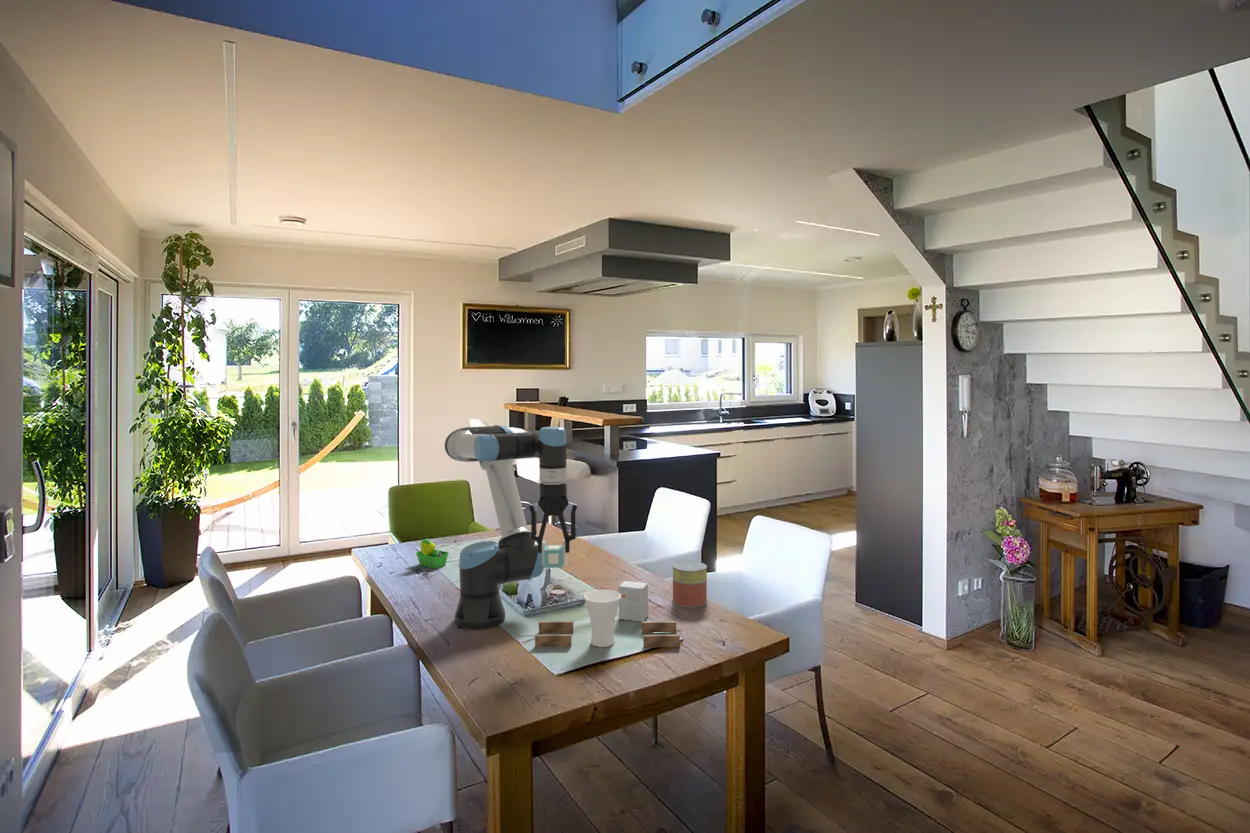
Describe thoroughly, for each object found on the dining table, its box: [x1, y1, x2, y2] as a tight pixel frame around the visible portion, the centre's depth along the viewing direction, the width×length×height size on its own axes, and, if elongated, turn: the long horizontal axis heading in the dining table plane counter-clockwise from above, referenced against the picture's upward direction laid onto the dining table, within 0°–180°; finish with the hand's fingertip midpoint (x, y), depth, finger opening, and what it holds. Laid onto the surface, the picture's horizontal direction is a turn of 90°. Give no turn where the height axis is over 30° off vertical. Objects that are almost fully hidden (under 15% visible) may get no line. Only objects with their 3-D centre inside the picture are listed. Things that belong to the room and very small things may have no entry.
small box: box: [617, 580, 649, 623], centre depth 209 cm, size 8×6×10 cm
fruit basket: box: [415, 538, 450, 570], centre depth 264 cm, size 11×9×11 cm
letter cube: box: [544, 544, 564, 569], centre depth 191 cm, size 5×5×5 cm
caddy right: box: [641, 620, 681, 648], centre depth 192 cm, size 10×11×3 cm
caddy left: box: [534, 620, 574, 648], centre depth 193 cm, size 10×11×3 cm
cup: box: [583, 589, 621, 648], centre depth 190 cm, size 10×10×14 cm
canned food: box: [672, 560, 708, 608], centre depth 223 cm, size 11×11×12 cm
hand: (554, 563), depth 191 cm, fingers closed on letter cube, 5 cm apart
